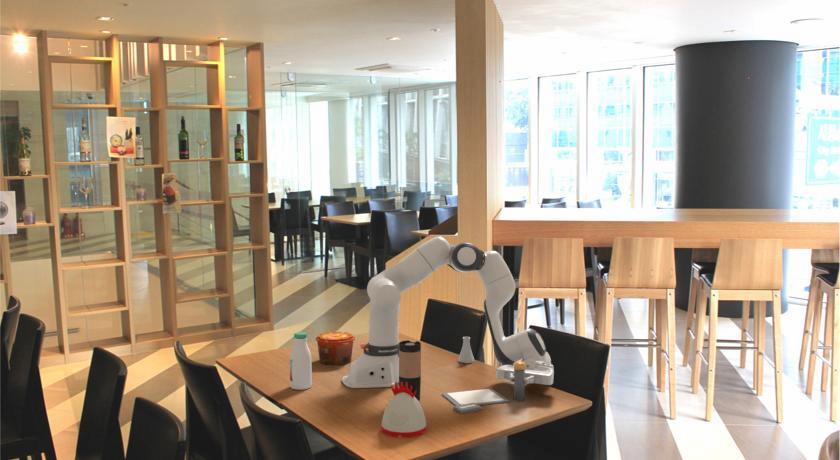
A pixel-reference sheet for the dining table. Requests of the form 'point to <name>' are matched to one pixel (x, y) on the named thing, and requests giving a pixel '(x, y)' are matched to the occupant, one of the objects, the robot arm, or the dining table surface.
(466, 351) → the flask
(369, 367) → the robot arm
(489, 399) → the paper pad
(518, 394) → the marker
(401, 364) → the travel mug
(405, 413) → the kitchen timer
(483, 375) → the dining table surface
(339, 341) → the food container
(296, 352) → the milk bottle
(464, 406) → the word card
